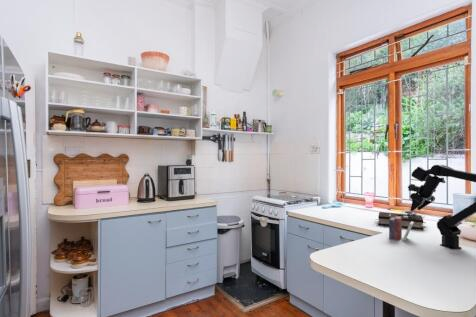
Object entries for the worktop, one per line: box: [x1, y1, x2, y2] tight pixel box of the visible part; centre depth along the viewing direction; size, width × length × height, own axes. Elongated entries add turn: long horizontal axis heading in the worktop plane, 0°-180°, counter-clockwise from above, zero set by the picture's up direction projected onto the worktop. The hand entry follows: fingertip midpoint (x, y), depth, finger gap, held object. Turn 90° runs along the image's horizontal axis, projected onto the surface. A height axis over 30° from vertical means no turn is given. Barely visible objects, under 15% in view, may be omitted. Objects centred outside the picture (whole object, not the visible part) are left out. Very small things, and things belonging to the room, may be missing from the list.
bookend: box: [402, 221, 414, 242], centre depth 152 cm, size 1×8×10 cm, turn 141°
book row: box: [388, 216, 403, 241], centre depth 156 cm, size 5×8×12 cm, turn 142°
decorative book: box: [375, 211, 426, 231], centre depth 188 cm, size 19×8×30 cm
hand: (414, 210), depth 154 cm, fingers open, 9 cm apart
